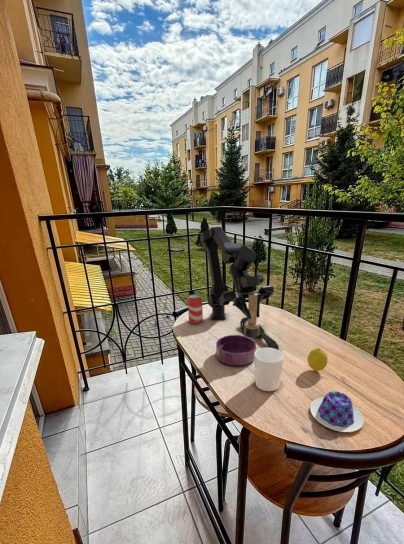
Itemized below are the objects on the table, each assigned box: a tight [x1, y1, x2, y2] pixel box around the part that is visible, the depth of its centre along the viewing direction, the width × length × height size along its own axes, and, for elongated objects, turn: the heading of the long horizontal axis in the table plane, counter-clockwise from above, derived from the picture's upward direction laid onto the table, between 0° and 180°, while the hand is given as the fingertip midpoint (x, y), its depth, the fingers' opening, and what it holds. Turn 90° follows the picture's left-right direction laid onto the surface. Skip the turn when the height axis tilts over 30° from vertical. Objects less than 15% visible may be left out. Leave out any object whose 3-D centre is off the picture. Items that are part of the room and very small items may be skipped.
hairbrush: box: [239, 316, 280, 351], centre depth 109 cm, size 8×4×25 cm
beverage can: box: [187, 293, 204, 325], centre depth 123 cm, size 6×6×12 cm
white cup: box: [254, 347, 284, 392], centre depth 80 cm, size 8×8×10 cm
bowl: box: [215, 334, 257, 367], centre depth 95 cm, size 13×13×5 cm
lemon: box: [307, 347, 328, 372], centre depth 86 cm, size 6×6×8 cm
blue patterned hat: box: [309, 391, 365, 433], centre depth 68 cm, size 12×12×5 cm
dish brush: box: [244, 293, 260, 338], centre depth 94 cm, size 5×5×15 cm
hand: (254, 318), depth 93 cm, fingers closed on dish brush, 3 cm apart
